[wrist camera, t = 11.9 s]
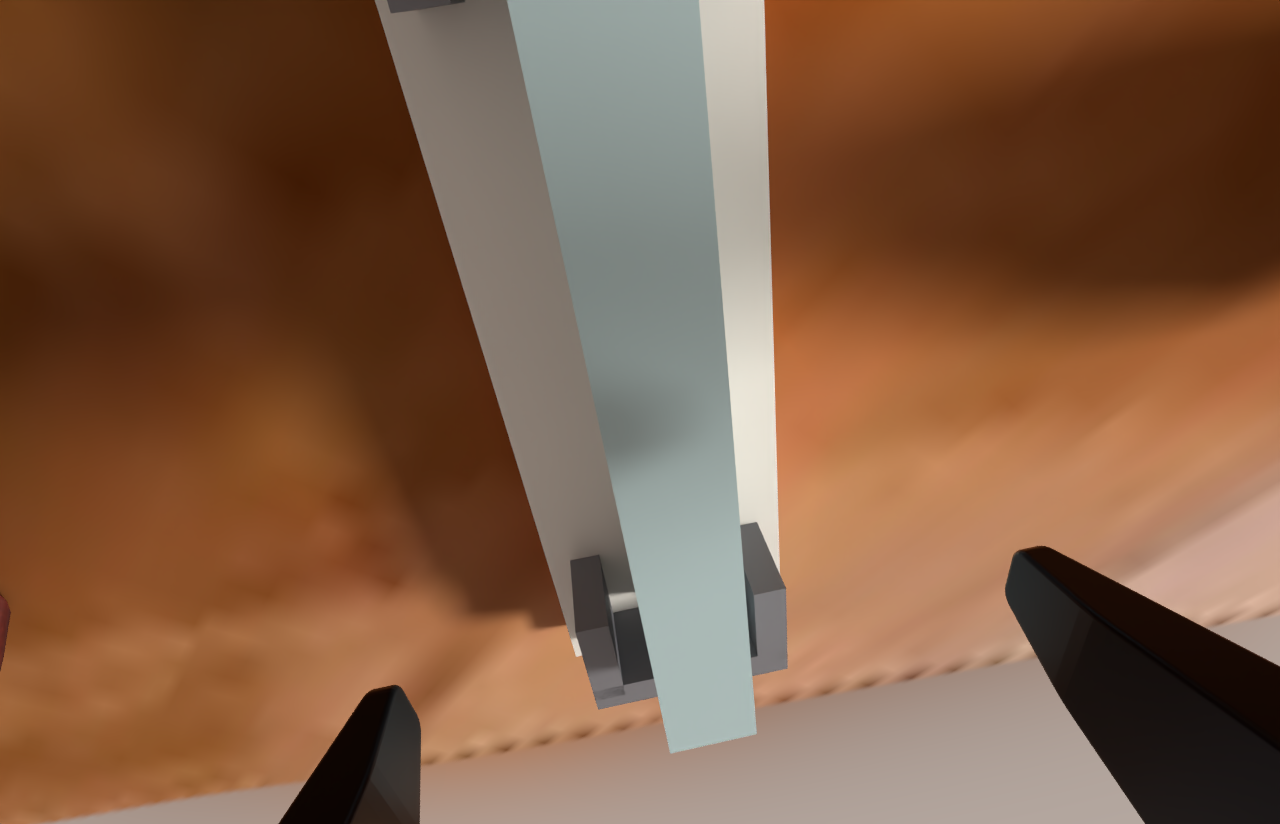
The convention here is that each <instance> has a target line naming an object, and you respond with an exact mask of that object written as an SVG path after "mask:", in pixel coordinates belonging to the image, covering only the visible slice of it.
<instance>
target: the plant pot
mask: <svg viewBox="0 0 1280 824" xmlns="http://www.w3.org/2000/svg"><path fill="white" fill-rule="evenodd" d="M10 613H11V612H10V609H9V606H8V603H7V601H6V600H5V599H4V598H3V597H2V596H1V595H0V670H1V666H2V662H3V657H4V651H5V645H6V638H7V632H8V626H9V619H10Z"/></svg>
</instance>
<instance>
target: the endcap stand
mask: <svg viewBox="0 0 1280 824" xmlns="http://www.w3.org/2000/svg"><path fill="white" fill-rule="evenodd" d="M375 2H376V6H377V9H378V12H379V15H380V19H381V22H382V25H383V28H384V32H385V35H386V38H387V42H388V45H389V48H390V51H391V55H392V58H393V61H394V64H395V68H396V71H397V74H398V77H399V81H400V84H401V87H402V90H403V94H404V97H405V100H406V103H407V107H408V110H409V113H410V117H411V120H412V123H413V126H414V130H415V133H416V136H417V139H418V143H419V146H420V149H421V152H422V156H423V159H424V162H425V165H426V169H427V172H428V175H429V178H430V182H431V185H432V188H433V191H434V195H435V198H436V201H437V205H438V208H439V211H440V214H441V218H442V221H443V224H444V227H445V231H446V234H447V237H448V240H449V244H450V247H451V250H452V253H453V257H454V260H455V263H456V266H457V270H458V273H459V276H460V279H461V283H462V286H463V289H464V293H465V296H466V299H467V302H468V306H469V309H470V312H471V315H472V319H473V322H474V325H475V328H476V332H477V335H478V338H479V341H480V345H481V348H482V351H483V354H484V358H485V361H486V364H487V367H488V371H489V374H490V377H491V381H492V384H493V387H494V390H495V394H496V397H497V400H498V403H499V407H500V410H501V413H502V416H503V420H504V423H505V426H506V429H507V433H508V436H509V439H510V442H511V446H512V449H513V452H514V455H515V459H516V462H517V465H518V469H519V472H520V475H521V478H522V482H523V485H524V488H525V491H526V495H527V498H528V501H529V504H530V508H531V511H532V514H533V517H534V521H535V524H536V527H537V530H538V534H539V537H540V540H541V543H542V547H543V550H544V553H545V557H546V560H547V563H548V566H549V570H550V573H551V576H552V579H553V583H554V586H555V589H556V592H557V596H558V599H559V602H560V605H561V609H562V612H563V615H564V618H565V622H566V625H567V628H568V632H569V635H570V638H571V641H572V645H573V648H574V651H575V654H576V657H578V656H583V660H584V663H585V667H586V670H587V673H588V677H589V680H590V683H591V687H592V690H593V693H594V697H595V700H596V703H597V707H598V709H603V708H608V707H612V706H617V705H621V704H626V703H631V702H635V701H640V700H644V699H649V698H654V697H658V695H657V690H656V685H655V681H654V676H653V672H652V667H651V662H650V658H649V653H648V649H647V644H646V639H645V635H644V630H643V625H642V621H641V616H640V612H639V607H638V602H637V598H636V593H635V589H634V584H633V579H632V575H631V570H630V566H629V561H628V556H627V552H626V547H625V542H624V538H623V533H622V529H621V524H620V519H619V515H618V510H617V506H616V501H615V496H614V492H613V487H612V483H611V478H610V473H609V469H608V464H607V459H606V455H605V450H604V446H603V441H602V436H601V432H600V427H599V423H598V418H597V413H596V409H595V404H594V400H593V395H592V390H591V386H590V381H589V376H588V372H587V367H586V363H585V358H584V353H583V349H582V344H581V340H580V335H579V330H578V326H577V321H576V316H575V312H574V307H573V303H572V298H571V293H570V289H569V284H568V280H567V275H566V270H565V266H564V261H563V257H562V252H561V247H560V243H559V238H558V233H557V229H556V224H555V220H554V215H553V210H552V206H551V201H550V197H549V192H548V187H547V183H546V178H545V174H544V169H543V164H542V160H541V155H540V150H539V146H538V141H537V137H536V132H535V127H534V123H533V118H532V114H531V109H530V104H529V100H528V95H527V91H526V86H525V81H524V77H523V72H522V67H521V63H520V58H519V54H518V49H517V44H516V40H515V35H514V31H513V26H512V21H511V17H510V12H509V8H508V3H507V0H375ZM699 9H700V22H701V34H702V47H703V60H704V72H705V85H706V98H707V110H708V123H709V136H710V149H711V161H712V174H713V187H714V199H715V212H716V225H717V237H718V250H719V263H720V275H721V288H722V301H723V313H724V326H725V339H726V351H727V364H728V377H729V389H730V402H731V415H732V427H733V440H734V453H735V465H736V478H737V491H738V503H739V516H740V529H741V541H742V554H743V567H744V579H745V592H746V605H747V617H748V630H749V643H750V655H751V668H752V676H755V675H759V674H764V673H769V672H773V671H778V670H782V669H787V618H786V587H785V585H784V583H783V581H782V578H781V576H780V564H779V527H778V491H777V454H776V418H775V381H774V345H773V308H772V272H771V235H770V199H769V162H768V126H767V89H766V53H765V16H764V0H699Z"/></svg>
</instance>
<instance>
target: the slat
mask: <svg viewBox="0 0 1280 824" xmlns="http://www.w3.org/2000/svg"><path fill="white" fill-rule="evenodd" d="M507 3H508V8H509V12H510V17H511V21H512V26H513V31H514V35H515V40H516V44H517V49H518V54H519V58H520V63H521V67H522V72H523V77H524V81H525V86H526V91H527V95H528V100H529V104H530V109H531V114H532V118H533V123H534V127H535V132H536V137H537V141H538V146H539V150H540V155H541V160H542V164H543V169H544V174H545V178H546V183H547V187H548V192H549V197H550V201H551V206H552V210H553V215H554V220H555V224H556V229H557V233H558V238H559V243H560V247H561V252H562V257H563V261H564V266H565V270H566V275H567V280H568V284H569V289H570V293H571V298H572V303H573V307H574V312H575V316H576V321H577V326H578V330H579V335H580V340H581V344H582V349H583V353H584V358H585V363H586V367H587V372H588V376H589V381H590V386H591V390H592V395H593V400H594V404H595V409H596V413H597V418H598V423H599V427H600V432H601V436H602V441H603V446H604V450H605V455H606V459H607V464H608V469H609V473H610V478H611V483H612V487H613V492H614V496H615V501H616V506H617V510H618V515H619V519H620V524H621V529H622V533H623V538H624V542H625V547H626V552H627V556H628V561H629V566H630V570H631V575H632V579H633V584H634V589H635V593H636V598H637V602H638V607H639V612H640V616H641V621H642V625H643V630H644V635H645V639H646V644H647V649H648V653H649V658H650V662H651V667H652V672H653V676H654V681H655V685H656V690H657V695H658V699H659V704H660V708H661V713H662V718H663V722H664V727H665V732H666V736H667V741H668V745H669V750H670V753H675V752H679V751H684V750H688V749H693V748H697V747H702V746H706V745H710V744H715V743H719V742H723V741H728V740H733V739H737V738H742V737H746V736H751V735H755V734H757V731H756V719H755V706H754V693H753V681H752V668H751V655H750V643H749V630H748V617H747V605H746V592H745V579H744V567H743V554H742V541H741V529H740V516H739V503H738V491H737V478H736V465H735V453H734V440H733V427H732V415H731V402H730V389H729V377H728V364H727V351H726V339H725V326H724V313H723V301H722V288H721V275H720V263H719V250H718V237H717V225H716V212H715V199H714V187H713V174H712V161H711V149H710V136H709V123H708V110H707V98H706V85H705V72H704V60H703V47H702V34H701V22H700V9H699V0H507Z"/></svg>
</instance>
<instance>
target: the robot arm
mask: <svg viewBox="0 0 1280 824" xmlns="http://www.w3.org/2000/svg"><path fill="white" fill-rule="evenodd" d="M1005 594H1006V598H1007V601H1008V604H1009V606H1010V608H1011V609H1012V611H1013V613H1014V615H1015V617H1016V619H1017V620H1018V622H1019V624H1020V626H1021V628H1022V630H1023V631H1024V633H1025V635H1026V637H1027V639H1028V641H1029V642H1030V644H1031V646H1032V648H1033V650H1034V652H1035V653H1036V655H1037V657H1038V659H1039V661H1040V663H1041V664H1042V666H1043V668H1044V670H1045V672H1046V674H1047V675H1048V677H1049V679H1050V681H1051V683H1052V685H1053V686H1054V687H1055V690H1056V691H1057V693H1058V695H1059V696H1060V698H1061V700H1062V701H1063V703H1064V704H1065V706H1066V708H1067V709H1068V711H1069V712H1070V714H1071V715H1072V717H1073V718H1074V720H1075V721H1076V723H1077V724H1078V726H1079V727H1080V729H1081V730H1082V732H1083V733H1084V735H1085V736H1086V738H1087V739H1088V740H1089V742H1090V744H1091V745H1092V746H1093V748H1094V749H1095V751H1096V752H1097V754H1098V755H1099V757H1100V758H1101V760H1102V761H1103V762H1104V764H1105V766H1106V767H1107V768H1108V770H1109V771H1110V773H1111V774H1112V776H1113V777H1114V779H1115V780H1116V782H1117V783H1118V785H1119V786H1120V788H1121V789H1122V790H1123V792H1124V793H1125V795H1126V796H1127V798H1128V799H1129V801H1130V802H1131V804H1132V805H1133V807H1134V808H1135V809H1136V811H1137V813H1138V814H1139V816H1140V817H1141V818H1142V820H1143V821H1144V823H1145V824H1280V666H1278V665H1276V664H1274V663H1272V662H1270V661H1268V660H1267V659H1265V658H1263V657H1260V656H1259V655H1257V654H1255V653H1253V652H1251V651H1249V650H1247V649H1245V648H1243V647H1241V646H1239V645H1237V644H1236V643H1234V642H1231V641H1230V640H1228V639H1226V638H1224V637H1222V636H1220V635H1218V634H1216V633H1214V632H1212V631H1210V630H1208V629H1207V628H1205V627H1203V626H1201V625H1199V624H1197V623H1195V622H1193V621H1191V620H1189V619H1187V618H1185V617H1183V616H1181V615H1179V614H1178V613H1176V612H1174V611H1172V610H1170V609H1168V608H1166V607H1164V606H1162V605H1160V604H1158V603H1156V602H1154V601H1152V600H1150V599H1148V598H1147V597H1145V596H1143V595H1141V594H1139V593H1137V592H1135V591H1133V590H1131V589H1129V588H1127V587H1125V586H1123V585H1121V584H1119V583H1118V582H1116V581H1114V580H1112V579H1110V578H1108V577H1106V576H1104V575H1102V574H1100V573H1098V572H1096V571H1094V570H1092V569H1090V568H1089V567H1087V566H1085V565H1083V564H1081V563H1079V562H1077V561H1075V560H1073V559H1071V558H1069V557H1067V556H1065V555H1063V554H1061V553H1060V552H1058V551H1056V550H1054V549H1052V548H1049V547H1046V546H1036V547H1031V548H1027V549H1022V550H1018V551H1017V552H1016V553H1015V554H1014V555H1013V558H1012V562H1011V566H1010V570H1009V574H1008V578H1007V582H1006V586H1005ZM420 764H421V728H420V722H419V718H418V716H417V714H416V712H415V710H414V709H413V707H412V705H411V703H410V702H409V700H408V698H407V696H406V695H405V693H404V691H403V690H402V688H401V687H399V686H398V685H391V686H386V687H382V688H377V689H373V690H371V691H369V692H368V693H367V694H366V695H365V696H364V697H363V699H362V700H361V702H360V703H359V704H358V706H357V707H356V709H355V710H354V712H353V713H352V715H351V716H350V718H349V719H348V721H347V722H346V724H345V725H344V727H343V728H342V730H341V731H340V733H339V734H338V736H337V737H336V739H335V740H334V742H333V743H332V745H331V746H330V748H329V749H328V751H327V752H326V754H325V755H324V757H323V758H322V760H321V761H320V763H319V764H318V766H317V767H316V769H315V770H314V772H313V773H312V775H311V776H310V777H309V779H308V780H307V782H306V783H305V785H304V786H303V788H302V789H301V791H300V792H299V794H298V796H297V797H296V799H295V800H294V802H293V803H292V804H291V806H290V807H289V809H288V810H287V812H286V813H285V815H284V816H283V818H282V819H281V821H280V823H279V824H420V823H419V822H420Z"/></svg>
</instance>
